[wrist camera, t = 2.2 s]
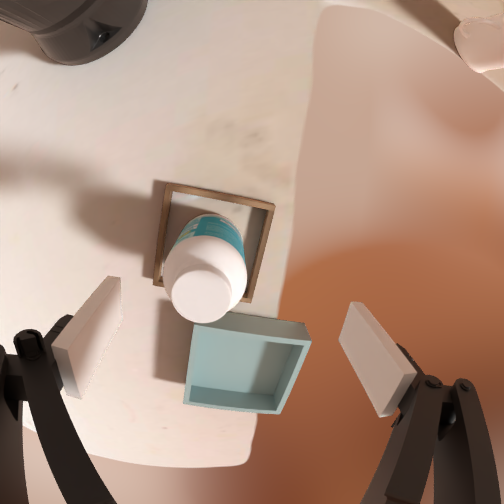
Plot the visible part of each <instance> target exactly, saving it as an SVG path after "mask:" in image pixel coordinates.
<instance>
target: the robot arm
mask: <svg viewBox="0 0 504 504" xmlns="http://www.w3.org/2000/svg"><path fill="white" fill-rule="evenodd" d="M147 2H148V0H0V20H1V21H4V22H6V23H9V24H11V25H14V26H16V27H19V28H21V29H23V30H26V31H28V32H30V33H32V35H33V36H34V38H35V39H36V41H37V42H38V44H39V45H40V47H41V49H42V51H43V52H44V53H45V54H46V55H47V56H48V57H49V58H51V59H53V60H55V61H57V62H59V63H62V64H66V65H81V64H85V63H89V62H92V61H94V60H97V59H99V58H101V57H103V56H105V55H106V54H108V53H110V52H111V51H113V50H114V49H115V48H117V47H118V46H119V45H120V44H121V43H123V42H124V41H125V40H126V39H127V38H128V37H129V36H130V35H131V33H132V32H133V31H134V30H135V28H136V27H137V26H138V24H139V23H140V21H141V19H142V17H143V15H144V13H145V10H146V7H147ZM122 321H123V317H122V302H121V280H120V277H113V276H107V277H106V279H105V280H104V281H103V282H102V283H101V284H100V285H99V287H98V288H97V289H96V290H95V291H94V292H93V294H92V295H91V296H90V297H89V298H88V300H87V301H86V302H85V303H84V304H83V306H82V307H81V308H80V309H79V310H78V312H77V313H76V314H75V315H74V316H72V315H68V314H67V315H65V316H64V317H62V318H60V319H59V320H58V321H57V322H56V323H55V325H54V326H53V327H52V328H51V329H50V331H49V332H48V333H47V334H46V336H45V337H44V338H43V337H42V335H41V333H40V332H39V331H37V330H33V329H26V330H23V331H20V332H19V333H17V334H16V336H15V337H14V341H13V342H14V345H15V348H16V351H17V354H18V355H12V354H6V352H5V349H4V347H3V346H2V345H0V504H29V502H28V495H27V488H26V480H25V471H24V459H23V438H22V412H23V401H28V403H29V407H30V410H31V414H32V417H33V421H34V424H35V427H36V431H37V434H38V437H39V440H40V442H41V445H42V448H43V451H44V453H45V456H46V459H47V461H48V464H49V466H50V469H51V471H52V473H53V475H54V478H55V480H56V482H57V484H58V486H59V489H60V491H61V493H62V495H63V497H64V499H65V501H66V503H67V504H117V503H116V501H115V500H114V498H113V497H112V495H111V494H110V492H109V491H108V489H107V488H106V486H105V485H104V483H103V481H102V479H101V478H100V476H99V474H98V473H97V471H96V469H95V467H94V465H93V464H92V462H91V460H90V458H89V456H88V454H87V452H86V450H85V449H84V447H83V445H82V443H81V440H80V438H79V436H78V434H77V432H76V430H75V428H74V426H73V423H72V421H71V419H70V416H69V414H68V412H67V409H66V407H65V404H64V402H63V399H62V397H61V394H60V391H61V389H62V387H63V386H64V389H65V392H66V395H68V396H71V397H75V398H78V399H82V398H83V395H84V393H85V391H86V389H87V387H88V385H89V383H90V381H91V379H92V377H93V375H94V373H95V371H96V369H97V367H98V365H99V363H100V361H101V359H102V357H103V356H104V354H105V352H106V350H107V348H108V346H109V344H110V342H111V341H112V339H113V337H114V335H115V333H116V331H117V330H118V328H119V326H120V324H121V322H122ZM339 342H340V344H341V346H342V348H343V349H344V351H345V353H346V355H347V357H348V359H349V361H350V362H351V364H352V366H353V368H354V370H355V372H356V374H357V376H358V377H359V379H360V381H361V383H362V385H363V387H364V389H365V391H366V392H367V395H368V397H369V398H370V400H371V402H372V404H373V406H374V408H375V410H376V412H377V414H378V416H379V417H384V416H390V415H393V413H394V411H395V410H396V408H397V407H398V408H399V409H400V411H401V413H400V414H399V415H398V417H397V418H396V420H395V421H394V423H393V424H392V426H391V427H394V428H393V431H392V434H391V437H390V439H389V442H388V444H387V447H386V449H385V452H384V454H383V456H382V459H381V461H380V464H379V466H378V468H377V470H376V472H375V474H374V477H373V479H372V481H371V483H370V485H369V487H368V489H367V491H366V493H365V495H364V497H363V499H362V501H361V503H360V504H420V501H421V498H422V495H423V492H424V488H425V485H426V481H427V477H428V473H429V470H430V466H431V461H432V457H433V461H434V504H501V498H500V490H499V482H498V476H497V470H496V465H495V460H494V455H493V450H492V445H491V441H490V437H489V433H488V429H487V425H486V422H485V418H484V414H483V411H482V408H481V405H480V401H479V398H478V395H477V392H476V389H475V387H474V385H473V384H472V383H471V382H470V381H468V380H467V379H462V378H460V379H457V380H456V381H455V383H454V385H453V386H445V385H443V384H442V382H441V381H440V380H439V379H438V378H436V377H434V376H431V375H425V374H424V373H423V371H422V370H421V369H420V367H419V366H418V365H417V364H416V362H415V361H413V358H412V357H411V356H409V353H408V352H407V351H406V350H405V348H403V347H402V346H400V345H399V344H395V343H394V341H393V340H392V339H391V338H390V336H389V335H388V334H387V333H386V331H385V330H384V329H383V328H382V326H381V325H380V324H379V322H378V321H377V320H376V319H375V318H374V316H373V315H372V314H371V313H370V311H369V310H368V309H367V308H366V307H365V305H364V304H363V303H362V302H351V303H350V306H349V310H348V313H347V316H346V319H345V322H344V325H343V328H342V331H341V334H340V337H339Z"/></svg>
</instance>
